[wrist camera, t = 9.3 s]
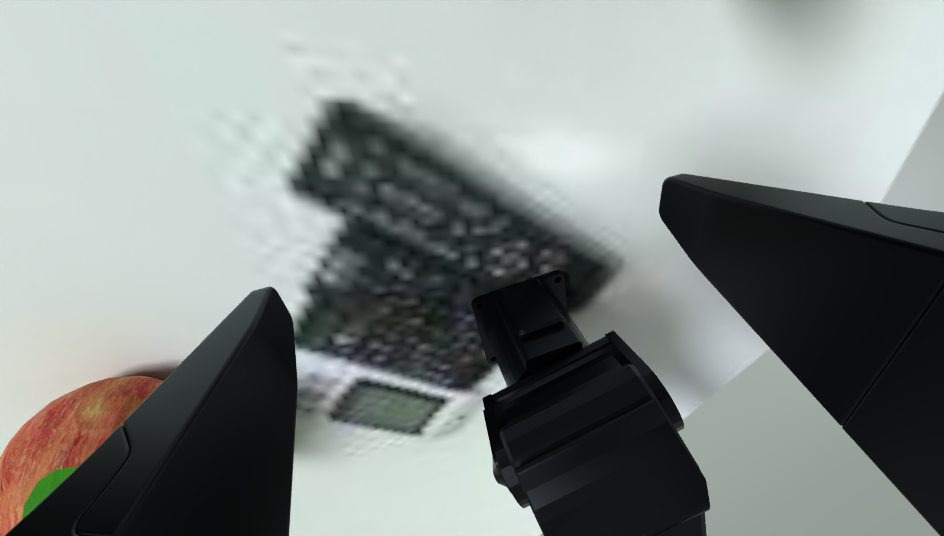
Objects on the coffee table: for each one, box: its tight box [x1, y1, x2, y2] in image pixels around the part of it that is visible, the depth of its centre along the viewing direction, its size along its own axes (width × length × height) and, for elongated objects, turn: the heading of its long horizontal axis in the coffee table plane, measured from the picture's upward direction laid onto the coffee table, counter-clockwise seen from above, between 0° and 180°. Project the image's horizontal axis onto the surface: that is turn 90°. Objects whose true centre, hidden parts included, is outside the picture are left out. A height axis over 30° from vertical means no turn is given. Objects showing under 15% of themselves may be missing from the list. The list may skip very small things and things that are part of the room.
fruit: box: [0, 376, 163, 536], centre depth 21 cm, size 9×10×10 cm
